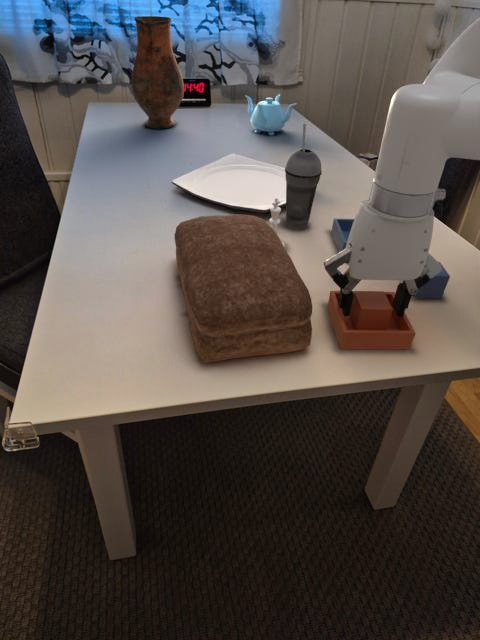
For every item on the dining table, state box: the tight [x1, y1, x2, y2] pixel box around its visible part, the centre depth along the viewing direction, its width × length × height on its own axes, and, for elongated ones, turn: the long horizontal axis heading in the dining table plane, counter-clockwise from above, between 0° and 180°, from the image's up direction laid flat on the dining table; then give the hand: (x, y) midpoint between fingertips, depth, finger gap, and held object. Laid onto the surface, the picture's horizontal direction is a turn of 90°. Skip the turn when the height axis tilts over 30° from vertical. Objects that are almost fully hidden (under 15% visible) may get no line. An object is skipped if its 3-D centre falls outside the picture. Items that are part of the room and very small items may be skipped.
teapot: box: [244, 93, 297, 136], centre depth 145 cm, size 13×13×10 cm
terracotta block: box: [349, 290, 393, 330], centre depth 66 cm, size 4×4×4 cm
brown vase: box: [131, 15, 185, 130], centre depth 142 cm, size 17×21×30 cm
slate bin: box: [330, 218, 355, 253], centre depth 87 cm, size 10×10×3 cm
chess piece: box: [268, 198, 286, 249], centre depth 83 cm, size 5×5×10 cm
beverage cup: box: [284, 123, 323, 231], centre depth 88 cm, size 7×7×20 cm
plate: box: [171, 153, 286, 214], centre depth 108 cm, size 29×29×3 cm
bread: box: [173, 213, 313, 363], centre depth 68 cm, size 17×29×11 cm, turn 12°
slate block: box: [412, 261, 451, 300], centre depth 75 cm, size 4×4×4 cm
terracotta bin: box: [326, 290, 416, 351], centre depth 67 cm, size 10×10×3 cm
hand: (371, 310), depth 66 cm, fingers open, 7 cm apart
